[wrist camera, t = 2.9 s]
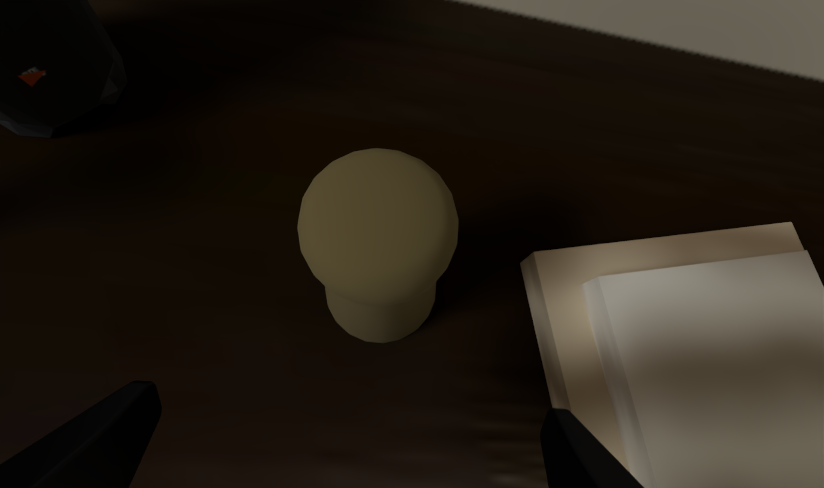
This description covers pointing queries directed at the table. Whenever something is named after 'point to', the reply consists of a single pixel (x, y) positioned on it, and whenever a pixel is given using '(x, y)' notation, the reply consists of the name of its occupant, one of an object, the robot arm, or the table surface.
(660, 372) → the stepped square base
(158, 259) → the table surface
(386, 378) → the table surface
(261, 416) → the table surface
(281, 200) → the table surface
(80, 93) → the portable speaker
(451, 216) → the brown ball-topped peg
